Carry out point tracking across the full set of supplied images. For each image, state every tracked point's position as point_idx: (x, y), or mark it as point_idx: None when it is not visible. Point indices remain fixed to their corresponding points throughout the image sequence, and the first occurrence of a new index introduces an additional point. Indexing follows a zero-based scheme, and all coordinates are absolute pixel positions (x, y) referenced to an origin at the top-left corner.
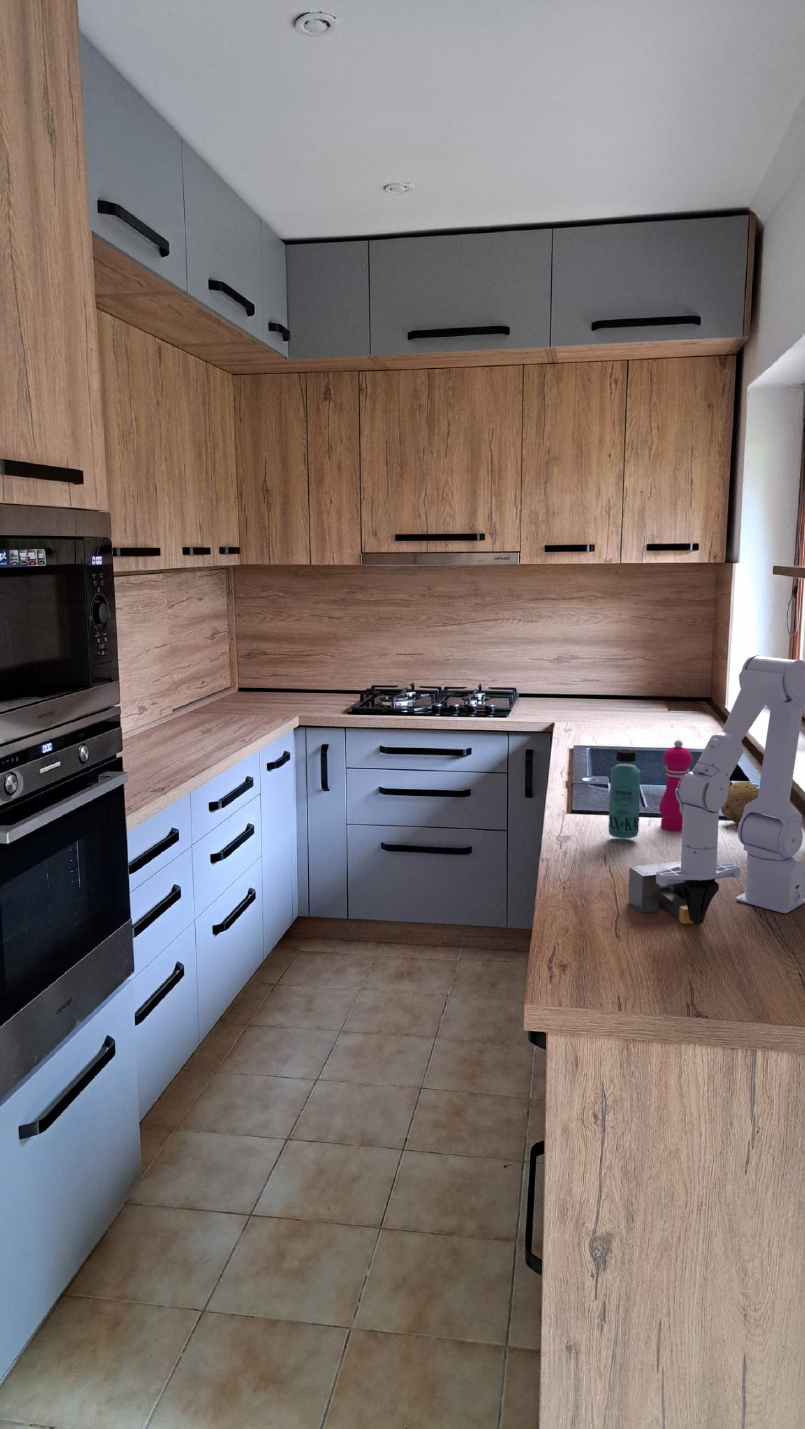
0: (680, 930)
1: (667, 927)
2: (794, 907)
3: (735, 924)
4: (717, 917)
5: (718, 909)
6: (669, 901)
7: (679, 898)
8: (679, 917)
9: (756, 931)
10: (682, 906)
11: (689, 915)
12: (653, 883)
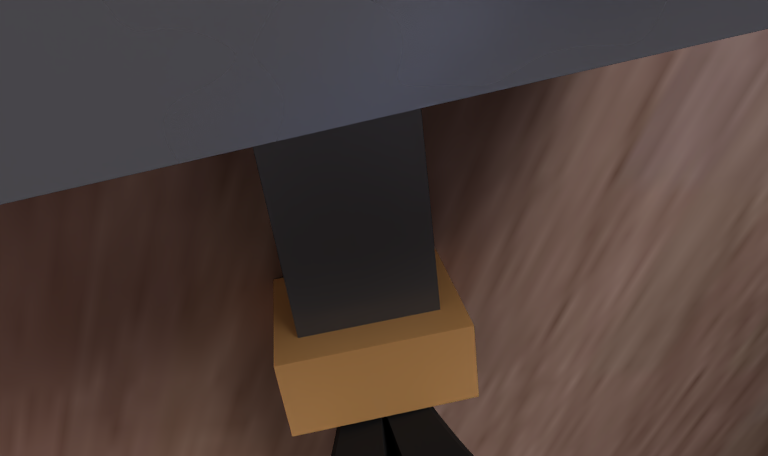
0: (235, 440)
1: (141, 398)
2: None
3: (668, 338)
4: (618, 217)
5: (729, 38)
6: None
7: None
8: (275, 298)
9: (722, 428)
10: (303, 368)
11: None
12: None
